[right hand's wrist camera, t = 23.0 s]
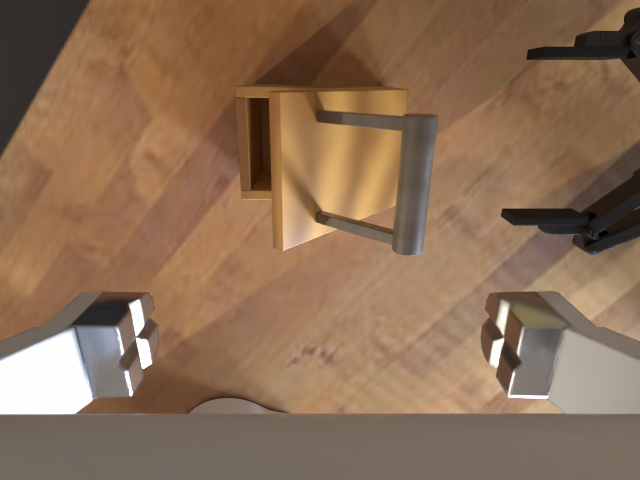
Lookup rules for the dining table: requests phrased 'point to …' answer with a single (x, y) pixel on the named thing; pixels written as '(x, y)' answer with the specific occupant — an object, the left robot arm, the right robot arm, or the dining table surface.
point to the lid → (349, 165)
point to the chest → (263, 133)
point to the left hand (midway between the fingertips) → (520, 140)
